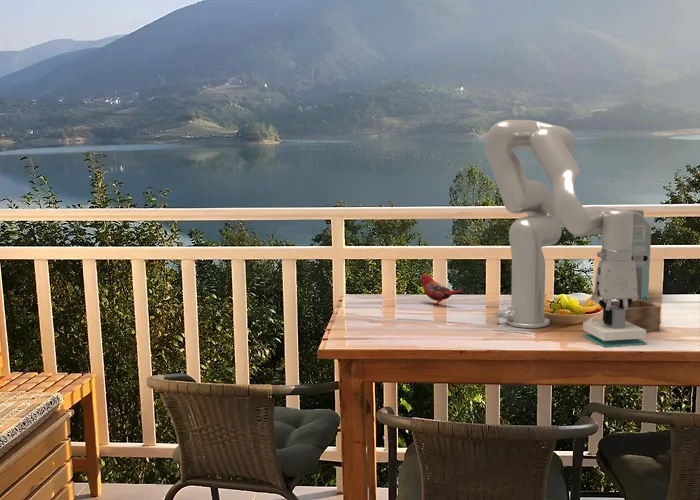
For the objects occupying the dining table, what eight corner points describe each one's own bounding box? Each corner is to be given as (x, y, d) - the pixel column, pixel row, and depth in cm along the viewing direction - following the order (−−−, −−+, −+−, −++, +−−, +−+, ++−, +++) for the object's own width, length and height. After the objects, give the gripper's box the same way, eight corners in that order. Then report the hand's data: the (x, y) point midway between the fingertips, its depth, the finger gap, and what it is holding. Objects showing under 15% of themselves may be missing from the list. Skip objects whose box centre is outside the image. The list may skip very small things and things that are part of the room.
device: (648, 303, 255) (652, 212, 250) (625, 304, 254) (629, 212, 249) (625, 294, 271) (628, 207, 266) (603, 294, 270) (606, 208, 266)
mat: (603, 347, 204) (603, 345, 204) (582, 335, 215) (582, 334, 215) (646, 344, 206) (646, 343, 206) (623, 333, 217) (623, 332, 217)
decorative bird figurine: (422, 301, 263) (422, 272, 261) (465, 309, 251) (465, 278, 249) (416, 303, 261) (416, 273, 259) (460, 310, 249) (460, 279, 247)
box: (626, 333, 217) (627, 308, 216) (608, 324, 227) (609, 301, 226) (659, 331, 219) (660, 306, 218) (640, 323, 229) (641, 299, 228)
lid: (603, 340, 203) (604, 313, 202) (583, 329, 215) (583, 304, 214) (645, 338, 205) (646, 311, 204) (622, 327, 217) (623, 302, 216)
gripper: (594, 259, 202) (592, 328, 205) (652, 256, 205) (649, 325, 208) (581, 254, 209) (579, 322, 212) (637, 252, 212) (634, 318, 215)
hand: (614, 322), depth 210 cm, fingers closed on lid, 3 cm apart
